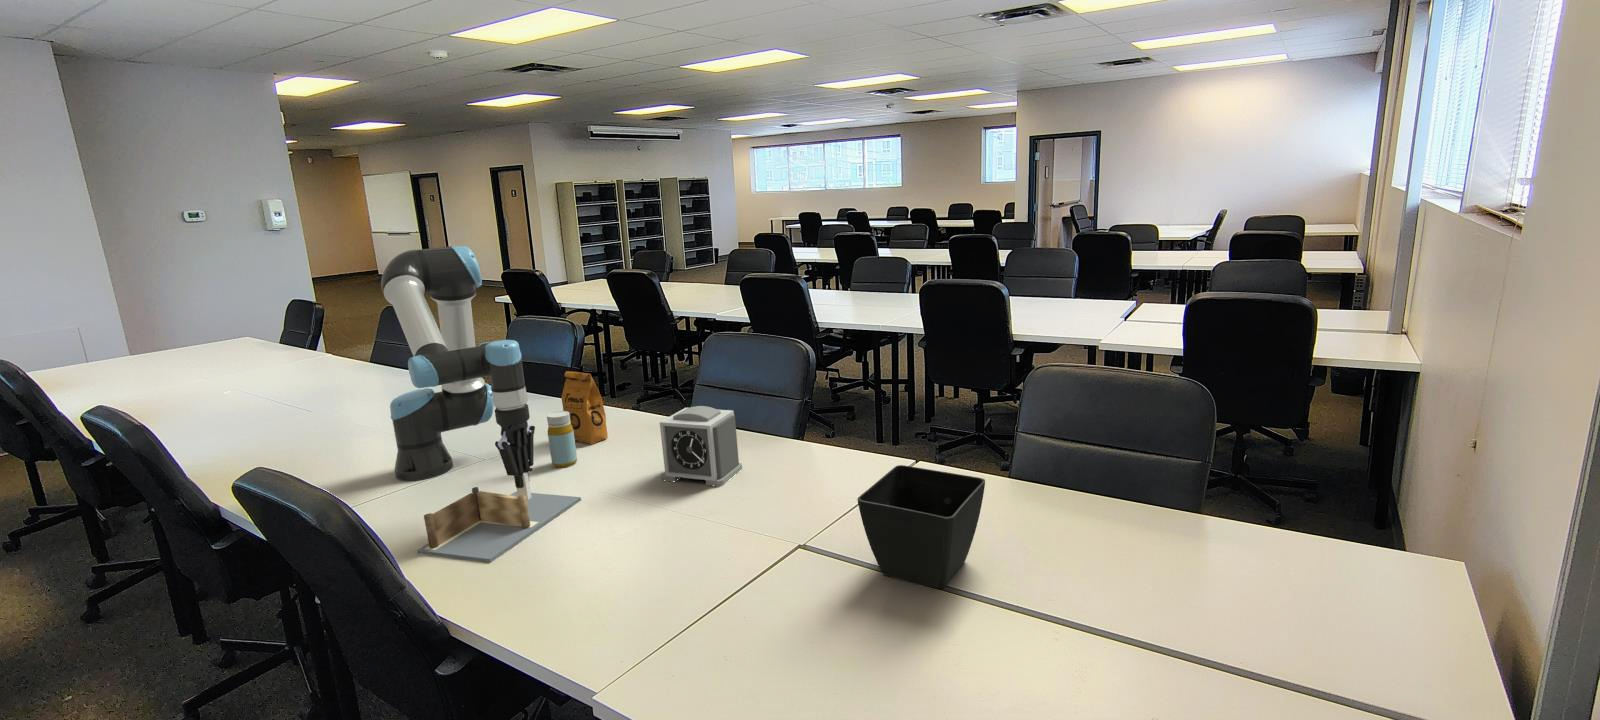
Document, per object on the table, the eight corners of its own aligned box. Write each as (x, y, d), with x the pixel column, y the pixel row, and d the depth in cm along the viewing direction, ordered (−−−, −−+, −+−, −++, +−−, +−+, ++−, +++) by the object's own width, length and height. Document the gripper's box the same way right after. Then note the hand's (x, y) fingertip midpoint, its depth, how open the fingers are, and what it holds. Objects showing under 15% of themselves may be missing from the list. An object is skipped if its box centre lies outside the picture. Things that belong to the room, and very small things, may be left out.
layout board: (490, 562, 160) (489, 558, 160) (417, 553, 167) (416, 549, 166) (581, 500, 191) (580, 496, 190) (516, 494, 197) (515, 491, 197)
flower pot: (953, 604, 134) (951, 516, 130) (858, 580, 144) (854, 498, 140) (987, 557, 150) (987, 478, 146) (900, 538, 160) (897, 464, 156)
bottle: (570, 468, 214) (563, 417, 210) (547, 468, 215) (540, 417, 212) (581, 459, 220) (575, 410, 217) (560, 459, 222) (553, 410, 218)
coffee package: (588, 447, 231) (579, 378, 226) (562, 441, 238) (553, 374, 233) (613, 437, 239) (605, 370, 234) (588, 432, 246) (579, 366, 241)
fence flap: (479, 520, 179) (475, 491, 178) (485, 517, 181) (481, 488, 179) (526, 527, 174) (521, 498, 172) (532, 524, 175) (527, 495, 174)
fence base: (434, 549, 166) (428, 515, 164) (427, 548, 167) (421, 515, 165) (485, 518, 181) (480, 487, 179) (479, 517, 182) (474, 486, 180)
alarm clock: (660, 480, 200) (653, 415, 196) (685, 463, 212) (679, 400, 208) (721, 487, 193) (715, 419, 189) (744, 468, 205) (738, 404, 201)
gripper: (513, 397, 185) (526, 486, 191) (479, 413, 173) (495, 508, 179) (540, 398, 183) (553, 488, 189) (508, 414, 171) (522, 510, 177)
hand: (524, 498), depth 184 cm, fingers closed
